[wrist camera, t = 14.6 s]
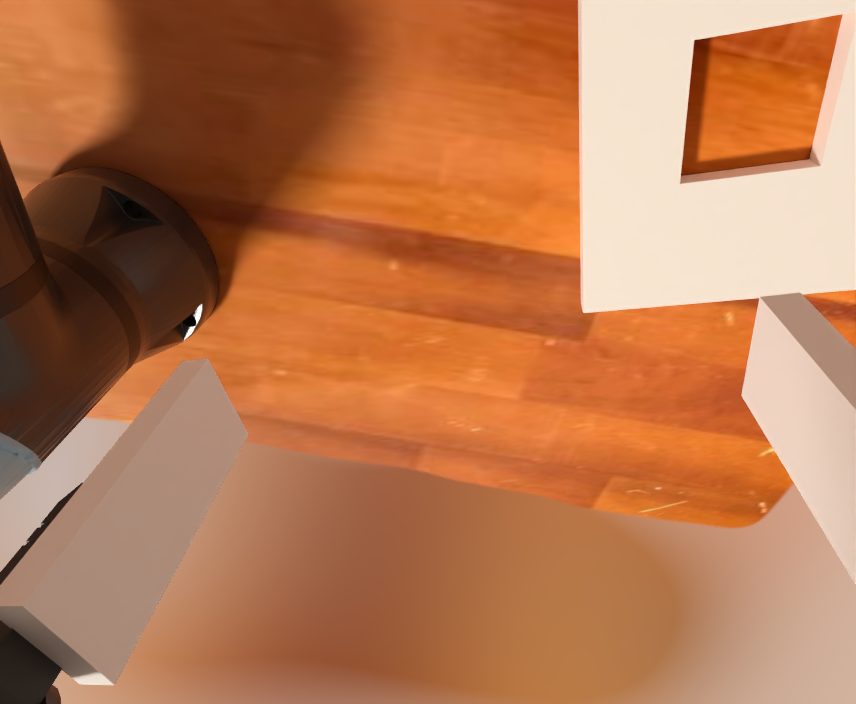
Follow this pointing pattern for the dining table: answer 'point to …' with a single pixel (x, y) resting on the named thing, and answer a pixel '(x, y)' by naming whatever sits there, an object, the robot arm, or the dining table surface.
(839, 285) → the hole board
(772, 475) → the dining table surface
